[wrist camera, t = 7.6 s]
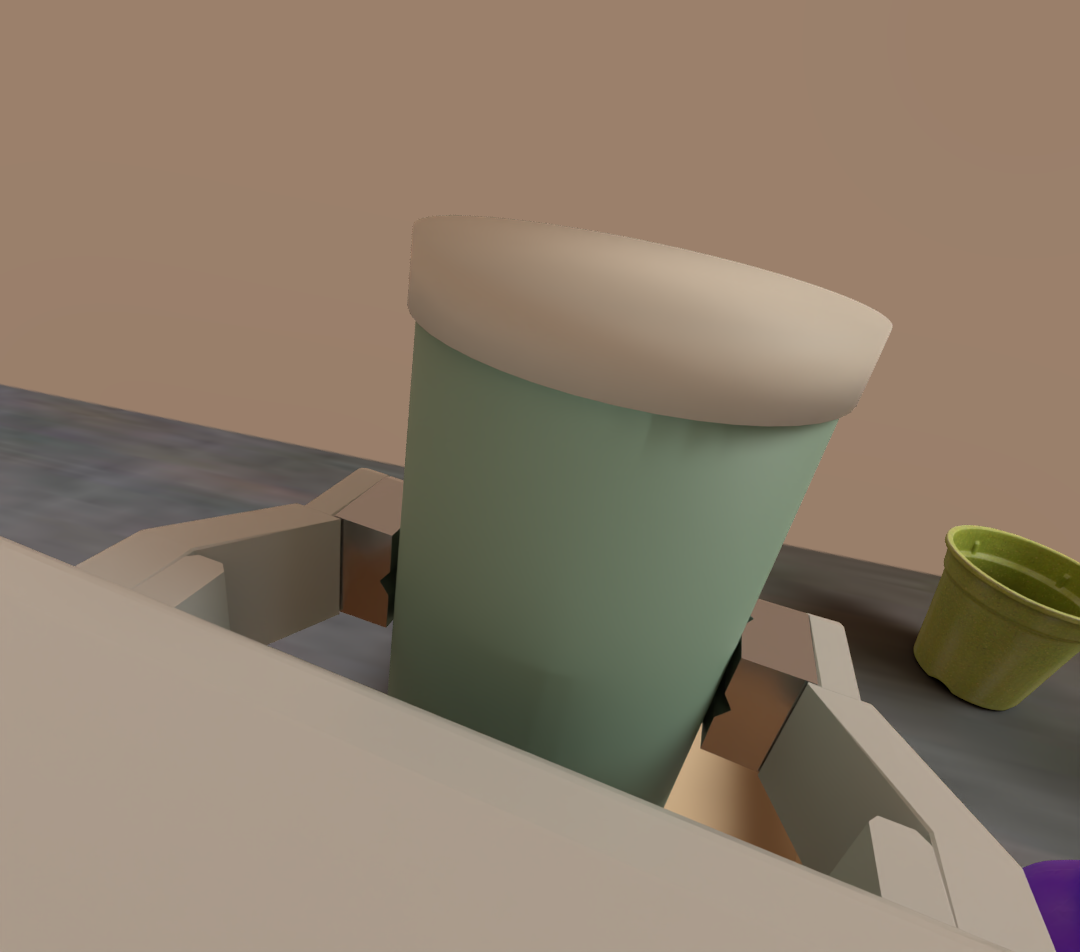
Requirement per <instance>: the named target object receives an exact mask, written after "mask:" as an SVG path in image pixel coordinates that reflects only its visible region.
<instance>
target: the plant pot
mask: <svg viewBox="0 0 1080 952" xmlns="http://www.w3.org/2000/svg"><path fill="white" fill-rule="evenodd" d="M945 543H946V546H947V548H948V549H947V553H946V555H945V558H944V567H945V569H944V571H943V574H942V577H941V579H940V582H939V584H938V587H937V590H936V592H935V595H934V597H933V600H932V602H931V605H930V607H929V610H928V612H927V615H926V617H925V619H924V622H923V624H922V627H921V629H920V632H919V634H918V637H917V639H916V642H915V644H914V655H915V657H916V660H917V661H918V663H919V665H920V666H921V667H922V669H923V670H924V671H925V672H926V673H927V674H928V675H929V676H931V677H934V678H937V679H938V680H940V681H941V682H943V683H944V684H945V685H946V686H947V687H948V689H949V690H950V691H951V693H953V694H954V695H956V696H958V697H959V698H961V699H963V700H966V701H968V702H970V703H972V704H975V705H978V706H981V707H984V708H988V709H992V710H1007V709H1009V708H1011V707H1014V706H1016V705H1017V704H1019V703H1020V702H1021V701H1022V700H1023V699H1025V698H1026V697H1027V696H1028V695H1029V694H1031V693H1032V692H1033V691H1034V690H1035V689H1036V688H1037V687H1038V686H1040V685H1041V684H1042V683H1043V682H1044V681H1045V680H1047V679H1048V678H1049V677H1050V676H1051V675H1052V674H1054V673H1055V672H1056V671H1057V670H1058V669H1059V668H1060V667H1062V666H1063V665H1064V664H1065V663H1066V662H1067V661H1069V660H1070V659H1071V658H1072V657H1073V656H1074V655H1076V654H1077V653H1078V652H1079V651H1080V563H1079V562H1077V561H1075V560H1073V559H1071V558H1070V557H1067V556H1066V555H1064V554H1061V553H1059V552H1057V551H1055V550H1053V549H1051V548H1049V547H1046V546H1044V545H1042V544H1039V543H1037V542H1034V541H1031V540H1029V539H1026V538H1024V537H1021V536H1018V535H1015V534H1012V533H1008V532H1005V531H1001V530H997V529H994V528H989V527H984V526H974V525H962V526H956V527H953V528H952V529H950V530H949V531H948V533H947V534H946V537H945Z"/></svg>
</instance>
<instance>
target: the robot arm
mask: <svg viewBox="0 0 1080 952" xmlns="http://www.w3.org/2000/svg"><path fill="white" fill-rule="evenodd" d="M403 484H404V481H403V480H400V479H397V478H394V477H390V476H388V475H386V474H383V473H380V472H377V471H373V470H370V469H367V468H359V469H358V470H356V471H355V472H353V473H352V474H351V475H349V476H348V477H346V478H345V479H343V480H342V481H340V482H339V483H337V484H336V485H334V486H333V487H332V488H330V489H329V490H327V491H326V492H324V493H323V494H321V495H320V496H318V497H317V498H315V499H314V500H313V501H311V502H310V503H308V504H307V505H305V506H303V505H300V504H297V503H295V504H290V505H284V506H278V507H272V508H266V509H261V510H255V511H249V512H243V513H238V514H232V515H226V516H220V517H214V518H209V519H203V520H197V521H191V522H185V523H180V524H174V525H168V526H162V527H156V528H151V529H145V530H141V531H139V532H137V533H135V534H133V535H132V536H130V537H128V538H126V539H124V540H122V541H121V542H119V543H117V544H115V545H113V546H111V547H110V548H108V549H106V550H104V551H102V552H100V553H99V554H97V555H95V556H93V557H91V558H89V559H88V560H86V561H84V562H82V563H80V564H78V565H77V566H75V567H74V566H72V565H69V564H67V563H64V562H62V561H60V560H57V559H55V558H52V557H50V556H47V555H45V554H42V553H40V552H38V551H35V550H33V549H30V548H28V547H25V546H23V545H21V544H18V543H16V542H13V541H11V540H8V539H6V538H4V537H1V536H0V952H1056V950H1055V948H1054V945H1053V943H1052V940H1051V938H1050V935H1049V933H1048V930H1047V928H1046V925H1045V923H1044V920H1043V918H1042V915H1041V913H1040V911H1039V908H1038V906H1037V903H1036V901H1035V898H1034V896H1033V893H1032V891H1031V888H1030V886H1029V883H1028V881H1027V878H1026V876H1025V873H1024V871H1023V869H1022V868H1021V867H1020V866H1019V864H1018V863H1017V862H1016V861H1015V860H1014V859H1013V858H1012V857H1011V856H1010V855H1009V854H1008V852H1007V851H1006V850H1005V849H1004V848H1003V847H1002V846H1001V845H1000V844H999V843H998V842H997V840H996V839H995V838H994V837H993V836H992V835H991V834H990V833H989V832H988V831H987V830H986V828H985V827H984V826H983V825H982V824H981V823H980V822H979V821H978V820H977V819H976V818H975V816H974V815H973V814H972V813H971V812H970V811H969V810H968V809H967V808H966V807H965V806H964V805H963V803H962V802H961V801H960V800H959V799H958V798H957V797H956V796H955V795H954V794H953V793H952V791H951V790H950V789H949V788H948V787H947V786H946V785H945V784H944V783H943V782H942V781H941V779H940V778H939V777H938V776H937V775H936V774H935V773H934V772H933V771H932V770H931V769H930V767H929V766H928V765H927V764H926V763H925V762H924V761H923V760H922V759H921V758H920V757H919V755H918V754H917V753H916V752H915V751H914V750H913V749H912V748H911V747H910V746H909V745H908V744H907V742H906V741H905V740H904V739H903V738H902V737H901V736H900V735H899V734H898V733H897V732H896V730H895V729H894V728H893V727H892V726H891V725H890V724H889V723H888V722H887V721H886V720H885V718H884V717H883V716H882V715H881V714H880V713H879V712H878V711H877V710H876V709H875V708H874V706H873V705H871V704H869V703H866V702H863V701H861V699H860V694H859V690H858V686H857V681H856V677H855V673H854V668H853V664H852V659H851V655H850V651H849V646H848V642H847V638H846V633H845V629H844V627H843V626H842V624H841V623H839V622H836V621H833V620H829V619H826V618H822V617H819V616H815V615H812V614H809V613H804V612H801V611H797V610H794V609H791V608H788V607H784V606H781V605H778V604H774V603H771V602H768V601H765V600H761V599H758V600H757V602H756V604H755V606H754V609H753V611H752V613H751V615H750V617H749V620H748V622H747V624H746V626H745V628H744V631H743V633H742V635H741V637H740V640H739V642H738V644H737V646H736V648H735V651H734V653H733V655H732V657H731V660H730V662H729V664H728V666H727V668H726V671H725V673H724V675H723V677H722V680H721V682H720V684H719V686H718V688H717V691H716V693H715V695H714V697H713V700H712V702H711V704H710V706H709V708H708V711H707V713H706V715H705V717H704V719H703V722H702V733H701V745H700V749H703V750H705V751H707V752H710V753H712V754H715V755H717V756H719V757H722V758H724V759H727V760H729V761H732V762H734V763H736V764H739V765H741V766H744V767H746V768H748V769H751V770H753V771H756V772H758V777H759V779H760V781H761V783H762V785H763V787H764V789H765V791H766V793H767V795H768V797H769V799H770V801H771V803H772V805H773V807H774V809H775V811H776V813H777V815H778V817H779V819H780V821H781V823H782V825H783V827H784V829H785V831H786V833H787V835H788V837H789V839H790V841H791V843H792V845H793V847H794V849H795V851H796V853H797V855H798V857H799V859H800V861H801V862H802V864H803V865H801V864H799V863H796V862H794V861H791V860H789V859H786V858H784V857H782V856H779V855H777V854H774V853H772V852H769V851H767V850H765V849H762V848H760V847H757V846H755V845H752V844H750V843H748V842H745V841H743V840H740V839H738V838H735V837H733V836H731V835H728V834H726V833H723V832H721V831H718V830H716V829H714V828H711V827H709V826H706V825H704V824H701V823H699V822H697V821H694V820H692V819H689V818H687V817H684V816H682V815H679V814H677V813H675V812H672V811H670V810H667V809H665V808H662V807H660V806H658V805H655V804H653V803H650V802H648V801H645V800H643V799H641V798H638V797H636V796H633V795H631V794H628V793H626V792H624V791H621V790H619V789H616V788H614V787H611V786H609V785H607V784H604V783H602V782H599V781H597V780H594V779H592V778H590V777H587V776H585V775H582V774H580V773H577V772H575V771H573V770H570V769H568V768H565V767H563V766H560V765H558V764H556V763H553V762H551V761H548V760H546V759H543V758H541V757H538V756H536V755H534V754H531V753H529V752H526V751H524V750H521V749H519V748H516V747H514V746H511V745H509V744H507V743H504V742H502V741H499V740H497V739H494V738H492V737H489V736H487V735H485V734H482V733H480V732H477V731H475V730H472V729H470V728H467V727H465V726H462V725H460V724H458V723H455V722H453V721H450V720H448V719H445V718H443V717H440V716H438V715H436V714H433V713H431V712H428V711H426V710H423V709H421V708H418V707H416V706H413V705H411V704H409V703H406V702H404V701H401V700H399V699H396V698H394V697H391V696H389V695H387V694H384V693H382V692H379V691H377V690H374V689H372V688H369V687H367V686H364V685H362V684H360V683H357V682H355V681H352V680H350V679H347V678H345V677H342V676H340V675H338V674H335V673H333V672H330V671H328V670H325V669H323V668H320V667H318V666H316V665H313V664H311V663H308V662H306V661H303V660H301V659H299V658H296V657H294V656H291V655H289V654H286V653H284V652H281V651H279V650H277V649H274V648H272V647H269V646H267V645H268V644H270V643H273V642H275V641H277V640H280V639H282V638H284V637H287V636H289V635H291V634H294V633H296V632H298V631H301V630H303V629H305V628H308V627H310V626H312V625H315V624H317V623H319V622H322V621H324V620H326V619H329V618H331V617H333V616H336V615H338V614H339V611H340V612H343V613H346V614H349V615H352V616H355V617H357V618H360V619H363V620H366V621H369V622H372V623H374V624H377V625H380V626H383V627H387V626H388V625H389V624H390V623H391V621H392V620H393V618H394V604H395V591H396V578H397V564H398V551H399V538H400V524H401V511H402V498H403Z"/></svg>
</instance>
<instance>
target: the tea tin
mask: <svg viewBox="0 0 1080 952" xmlns="http://www.w3.org/2000/svg"><path fill="white" fill-rule="evenodd" d="M410 260H411V261H410V274H409V290H408V304H407V305H408V308H409V312H410V314H411V315H412V317H413V318H414V319H415V321H416V325H415V338H414V351H413V364H412V379H411V391H410V405H409V418H408V431H407V444H406V458H405V471H404V484H403V498H402V511H401V524H400V538H399V551H398V564H397V578H396V591H395V604H394V618H393V631H392V644H391V658H390V671H389V684H388V695H389V696H391V697H394V698H396V699H399V700H401V701H404V702H406V703H409V704H411V705H413V706H416V707H418V708H421V709H423V710H426V711H428V712H431V713H433V714H436V715H438V716H440V717H443V718H445V719H448V720H450V721H453V722H455V723H458V724H460V725H462V726H465V727H467V728H470V729H472V730H475V731H477V732H480V733H482V734H485V735H487V736H489V737H492V738H494V739H497V740H499V741H502V742H504V743H507V744H509V745H511V746H514V747H516V748H519V749H521V750H524V751H526V752H529V753H531V754H534V755H536V756H538V757H541V758H543V759H546V760H548V761H551V762H553V763H556V764H558V765H560V766H563V767H565V768H568V769H570V770H573V771H575V772H577V773H580V774H582V775H585V776H587V777H590V778H592V779H594V780H597V781H599V782H602V783H604V784H607V785H609V786H611V787H614V788H616V789H619V790H621V791H624V792H626V793H628V794H631V795H633V796H636V797H638V798H641V799H643V800H645V801H648V802H650V803H653V804H655V805H658V806H660V807H662V808H664V806H665V804H666V802H667V799H668V797H669V795H670V793H671V791H672V788H673V786H674V784H675V782H676V779H677V777H678V775H679V773H680V771H681V768H682V766H683V764H684V762H685V759H686V757H687V755H688V753H689V751H690V748H691V746H692V744H693V742H694V739H695V737H696V735H697V733H698V731H699V728H700V726H701V724H702V722H703V719H704V717H705V715H706V713H707V711H708V708H709V706H710V704H711V702H712V700H713V697H714V695H715V693H716V691H717V688H718V686H719V684H720V682H721V680H722V677H723V675H724V673H725V671H726V668H727V666H728V664H729V662H730V660H731V657H732V655H733V653H734V651H735V648H736V646H737V644H738V642H739V640H740V637H741V635H742V633H743V631H744V628H745V626H746V624H747V622H748V620H749V617H750V615H751V613H752V611H753V609H754V606H755V604H756V602H757V600H758V597H759V595H760V593H761V591H762V589H763V586H764V584H765V582H766V580H767V577H768V575H769V573H770V571H771V569H772V566H773V564H774V562H775V560H776V557H777V555H778V553H779V551H780V549H781V546H782V544H783V542H784V540H785V537H786V535H787V533H788V531H789V529H790V526H791V524H792V522H793V520H794V518H795V515H796V513H797V511H798V509H799V506H800V504H801V502H802V500H803V497H804V495H805V493H806V491H807V489H808V486H809V484H810V482H811V480H812V477H813V475H814V473H815V470H816V469H817V466H818V464H819V462H820V460H821V458H822V455H823V453H824V450H825V449H826V446H827V444H828V442H829V440H830V438H831V435H832V433H833V431H834V429H835V427H836V424H837V422H838V420H839V418H841V417H843V416H845V415H847V414H849V413H850V412H851V411H852V410H853V409H854V408H855V407H856V406H857V404H858V401H859V399H860V397H861V395H862V393H863V391H864V388H865V386H866V384H867V382H868V380H869V378H870V375H871V373H872V371H873V369H874V367H875V364H876V362H877V360H878V358H879V356H880V353H881V352H882V349H883V347H884V345H885V343H886V341H887V339H888V336H889V334H890V332H891V330H892V323H891V322H890V321H889V319H888V318H886V317H885V316H884V315H882V314H881V313H879V312H878V311H876V310H874V309H872V308H870V307H868V306H866V305H864V304H862V303H860V302H858V301H855V300H853V299H851V298H848V297H845V296H843V295H841V294H838V293H835V292H833V291H830V290H827V289H825V288H821V287H819V286H816V285H813V284H810V283H807V282H804V281H801V280H798V279H794V278H791V277H787V276H785V275H781V274H778V273H774V272H771V271H768V270H764V269H761V268H757V267H753V266H750V265H746V264H742V263H739V262H735V261H731V260H727V259H723V258H719V257H715V256H711V255H707V254H703V253H699V252H694V251H690V250H686V249H681V248H677V247H673V246H668V245H663V244H659V243H653V242H649V241H644V240H639V239H634V238H630V237H624V236H619V235H614V234H608V233H603V232H597V231H592V230H586V229H579V228H573V227H567V226H561V225H553V224H547V223H540V222H532V221H524V220H515V219H506V218H495V217H482V216H462V215H448V216H447V215H446V216H432V217H426V218H422V219H419V220H417V221H415V222H414V224H413V231H412V245H411V259H410Z"/></svg>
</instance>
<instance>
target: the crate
mask: <svg viewBox="0 0 1080 952" xmlns="http://www.w3.org/2000/svg"><path fill="white" fill-rule="evenodd" d="M701 733H702V724H701V726H700V728H699V731H698V733H697V735H696V737H695V739H694V742H693V744H692V746H691V748H690V751H689V753H688V755H687V757H686V759H685V762H684V764H683V766H682V768H681V771H680V773H679V775H678V777H677V779H676V782H675V784H674V786H673V788H672V791H671V793H670V795H669V797H668V799H667V802H666V804H665V806H664V808H665V809H667V810H670V811H672V812H675V813H677V814H679V815H682V816H684V817H687V818H689V819H692V820H694V821H697V822H699V823H701V824H704V825H706V826H709V827H711V828H714V829H716V830H718V831H721V832H723V833H726V834H728V835H731V836H733V837H735V838H738V839H740V840H743V841H745V842H748V843H750V844H752V845H755V846H757V847H760V848H762V849H765V850H767V851H769V852H772V853H774V854H777V855H779V856H782V857H784V858H786V859H789V860H791V861H794V862H796V863H799V864H801V865H803V864H802V862H801V861H800V859H799V857H798V855H797V853H796V851H795V849H794V847H793V845H792V843H791V841H790V839H789V837H788V835H787V833H786V831H785V829H784V827H783V825H782V823H781V821H780V819H779V817H778V815H777V813H776V811H775V809H774V807H773V805H772V803H771V801H770V799H769V797H768V795H767V793H766V791H765V789H764V787H763V785H762V783H761V781H760V779H759V777H758V772H756V771H753V770H751V769H748V768H746V767H744V766H741V765H739V764H736V763H734V762H732V761H729V760H727V759H724V758H722V757H719V756H717V755H715V754H712V753H710V752H707V751H705V750H703V749H700V745H701Z"/></svg>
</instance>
